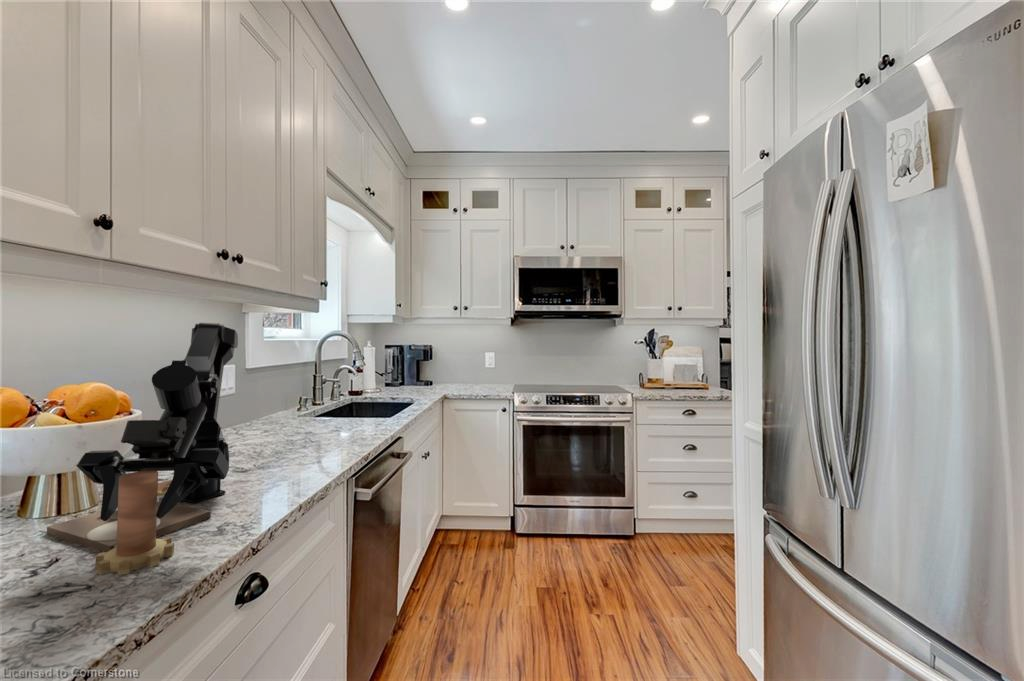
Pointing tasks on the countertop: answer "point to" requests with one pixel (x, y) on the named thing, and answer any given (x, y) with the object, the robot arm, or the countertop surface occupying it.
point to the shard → (163, 487)
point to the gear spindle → (136, 527)
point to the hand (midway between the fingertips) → (131, 518)
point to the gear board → (105, 532)
